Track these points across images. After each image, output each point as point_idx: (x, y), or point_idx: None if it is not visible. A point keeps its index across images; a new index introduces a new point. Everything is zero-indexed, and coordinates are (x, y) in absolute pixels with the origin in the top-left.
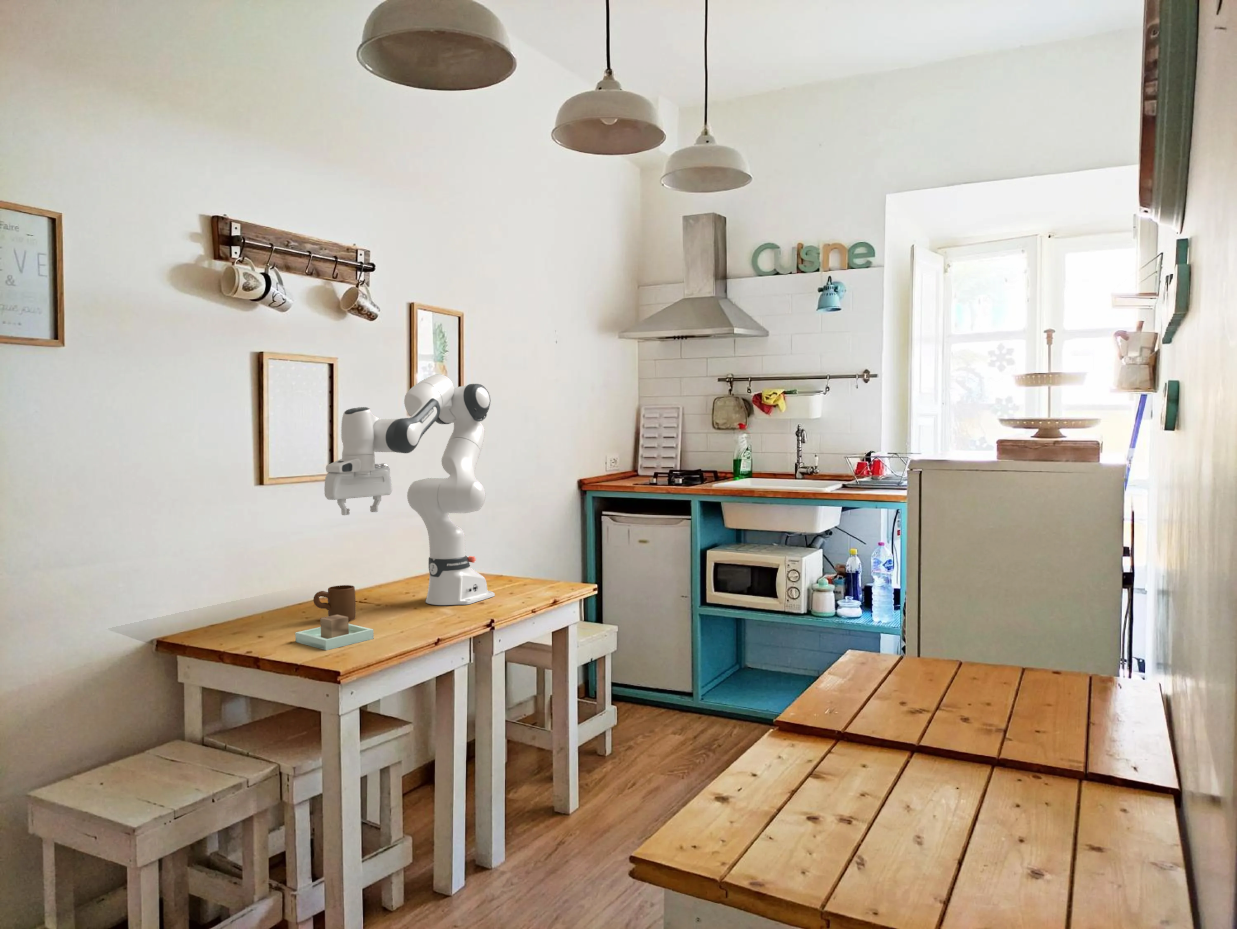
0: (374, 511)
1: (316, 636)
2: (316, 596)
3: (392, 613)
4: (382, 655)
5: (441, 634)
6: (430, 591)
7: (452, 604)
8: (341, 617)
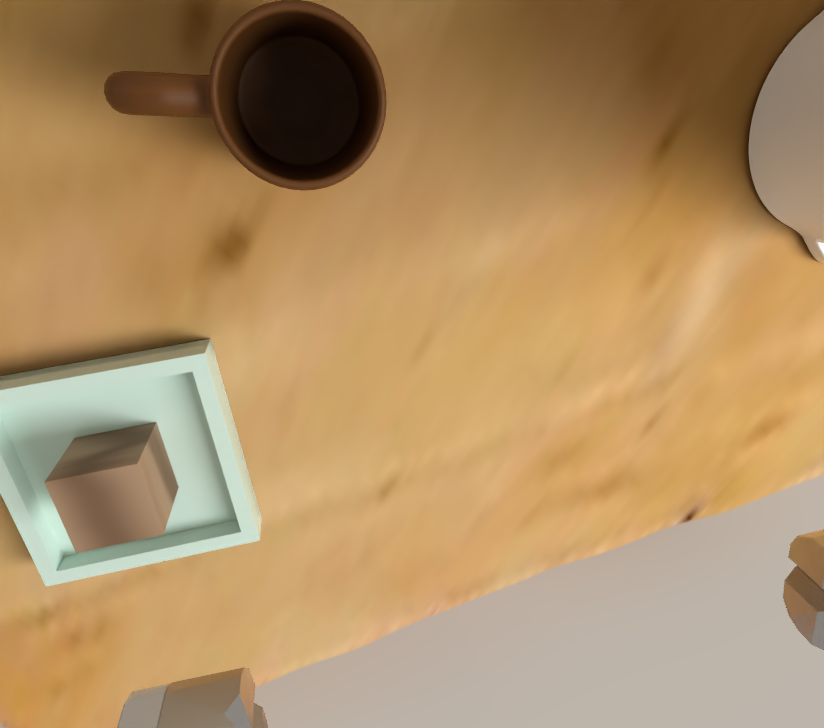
0: (806, 612)
1: (27, 515)
2: (116, 108)
3: (536, 165)
4: None
5: (459, 589)
6: (811, 112)
7: (787, 224)
8: (135, 524)
